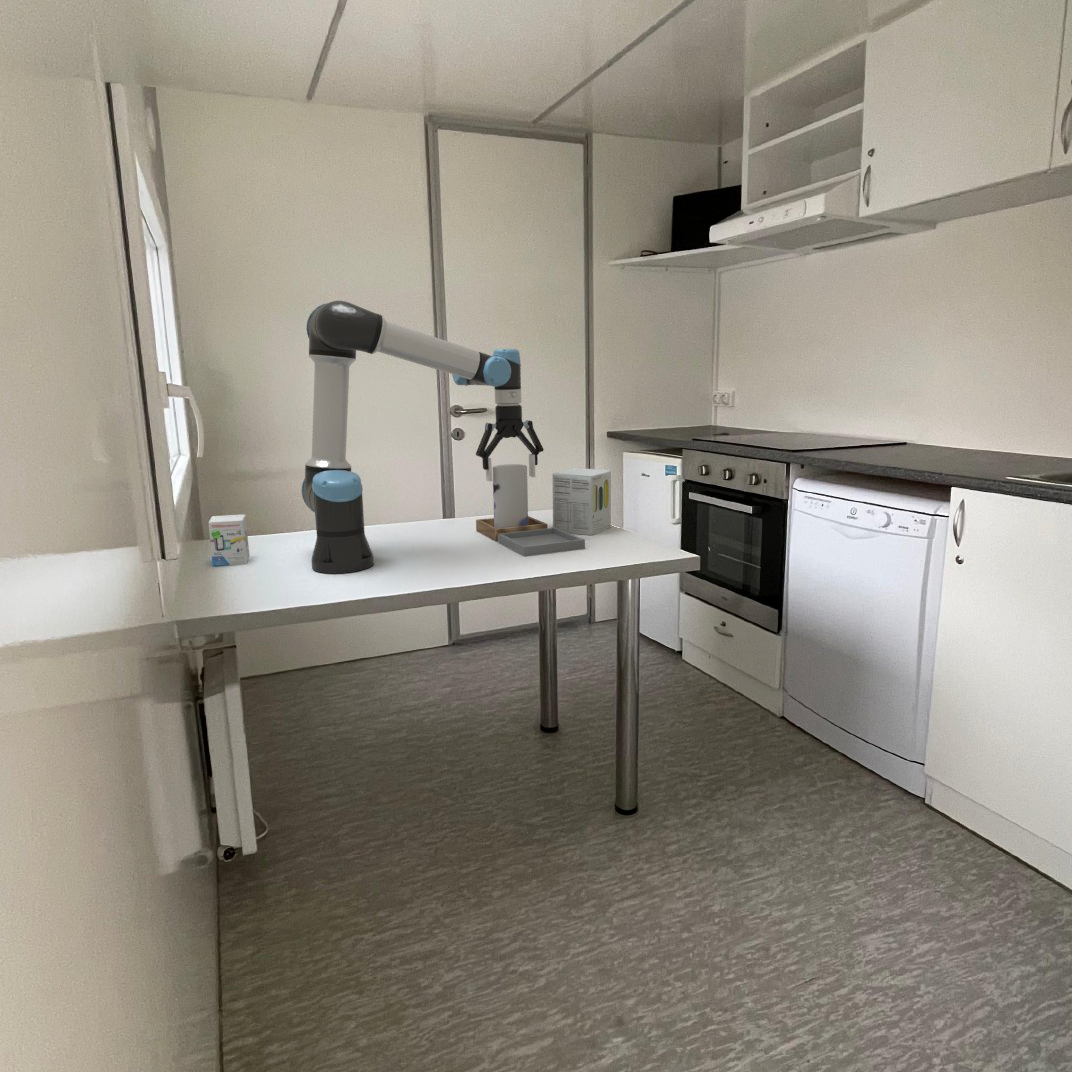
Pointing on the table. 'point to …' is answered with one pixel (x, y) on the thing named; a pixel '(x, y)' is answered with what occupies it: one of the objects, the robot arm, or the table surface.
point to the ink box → (228, 540)
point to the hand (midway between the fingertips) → (511, 478)
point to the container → (510, 495)
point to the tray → (541, 541)
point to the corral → (492, 532)
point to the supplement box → (582, 500)
